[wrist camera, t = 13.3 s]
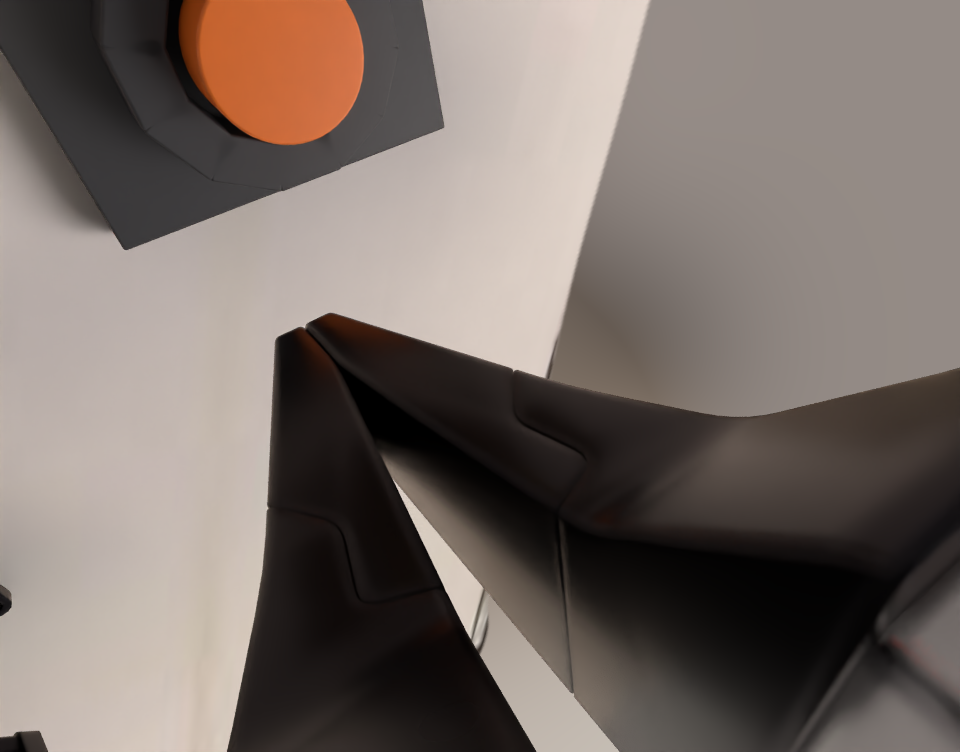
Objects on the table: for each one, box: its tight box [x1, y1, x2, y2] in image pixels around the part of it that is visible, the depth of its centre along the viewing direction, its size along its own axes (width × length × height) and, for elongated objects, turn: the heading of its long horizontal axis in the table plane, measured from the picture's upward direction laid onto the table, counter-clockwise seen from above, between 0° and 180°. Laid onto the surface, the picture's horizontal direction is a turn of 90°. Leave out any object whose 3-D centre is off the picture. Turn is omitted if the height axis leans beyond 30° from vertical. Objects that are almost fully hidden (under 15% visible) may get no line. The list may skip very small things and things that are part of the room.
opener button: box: [178, 0, 364, 145], centre depth 14 cm, size 4×4×2 cm
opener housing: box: [0, 0, 444, 250], centre depth 15 cm, size 10×8×3 cm
